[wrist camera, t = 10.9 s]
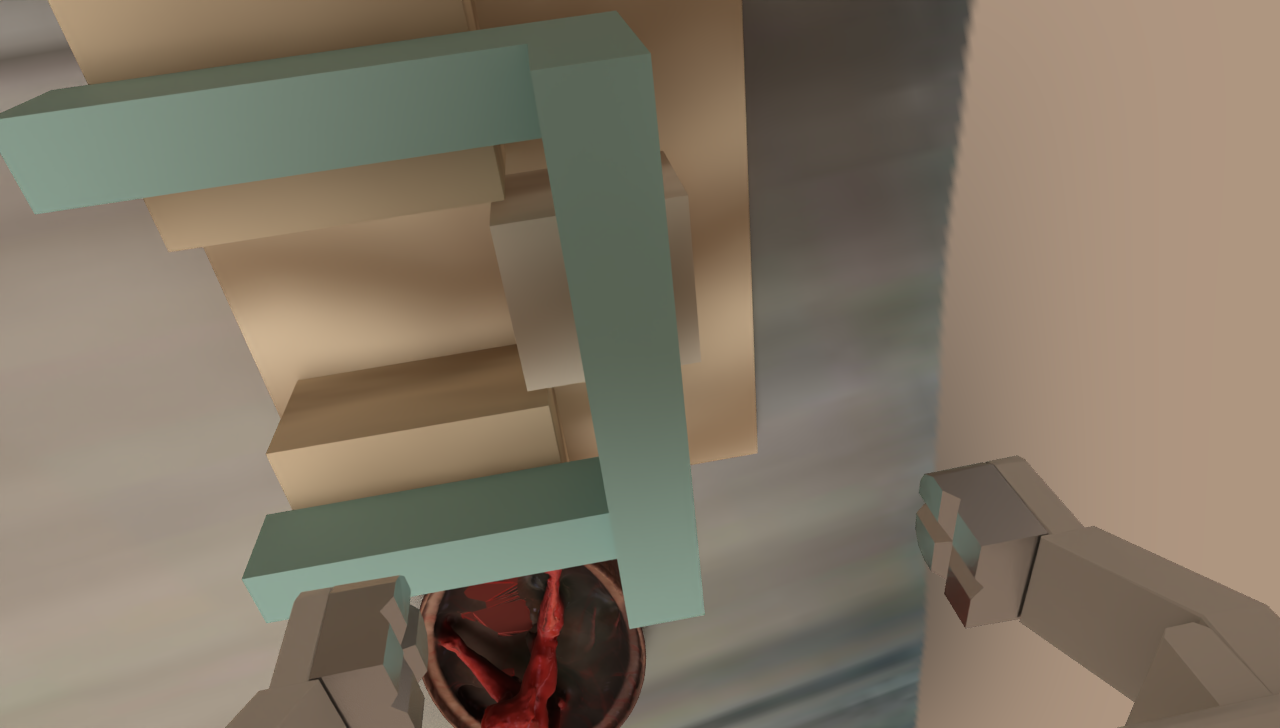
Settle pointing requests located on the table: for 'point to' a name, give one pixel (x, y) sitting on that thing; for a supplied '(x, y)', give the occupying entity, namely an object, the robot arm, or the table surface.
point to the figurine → (535, 651)
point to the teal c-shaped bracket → (592, 251)
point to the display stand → (447, 250)
